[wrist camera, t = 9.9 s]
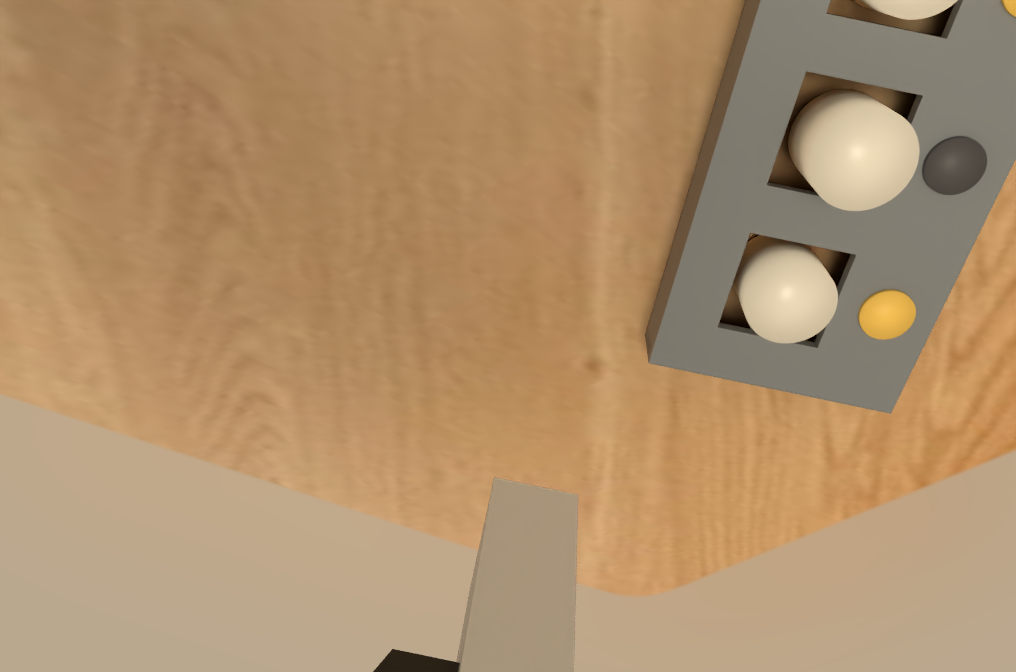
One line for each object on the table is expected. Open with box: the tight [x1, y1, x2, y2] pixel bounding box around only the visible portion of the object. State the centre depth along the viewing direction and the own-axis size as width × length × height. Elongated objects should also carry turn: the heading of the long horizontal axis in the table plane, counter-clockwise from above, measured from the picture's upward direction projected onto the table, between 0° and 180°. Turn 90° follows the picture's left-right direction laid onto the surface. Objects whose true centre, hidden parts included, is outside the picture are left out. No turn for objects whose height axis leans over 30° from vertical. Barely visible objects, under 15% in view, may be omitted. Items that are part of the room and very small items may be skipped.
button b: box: [788, 89, 920, 211], centre depth 32 cm, size 4×4×4 cm
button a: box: [733, 235, 838, 343], centre depth 37 cm, size 4×4×4 cm
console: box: [645, 0, 1016, 414], centre depth 35 cm, size 12×24×3 cm, turn 169°
